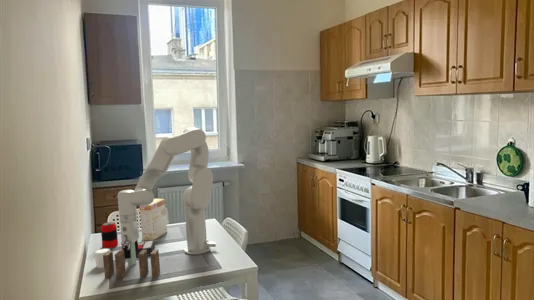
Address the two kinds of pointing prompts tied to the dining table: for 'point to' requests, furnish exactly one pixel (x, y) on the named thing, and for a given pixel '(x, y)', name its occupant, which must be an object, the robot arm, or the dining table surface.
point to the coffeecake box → (153, 219)
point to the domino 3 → (132, 255)
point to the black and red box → (145, 247)
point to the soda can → (109, 235)
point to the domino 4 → (143, 263)
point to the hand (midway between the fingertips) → (131, 254)
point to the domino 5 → (155, 262)
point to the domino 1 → (108, 264)
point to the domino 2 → (120, 264)
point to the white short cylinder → (100, 257)
